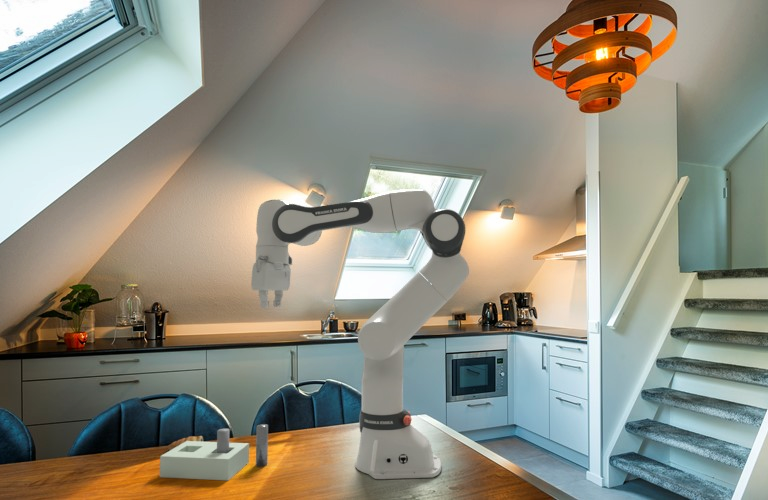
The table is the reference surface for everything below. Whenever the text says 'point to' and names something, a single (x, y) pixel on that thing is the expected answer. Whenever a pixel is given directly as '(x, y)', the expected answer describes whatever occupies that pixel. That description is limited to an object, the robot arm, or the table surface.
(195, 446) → the hole block
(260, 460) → the peg
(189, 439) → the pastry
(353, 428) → the table surface
